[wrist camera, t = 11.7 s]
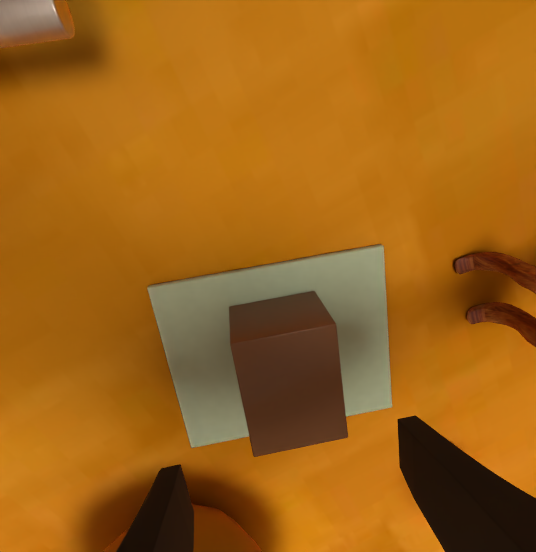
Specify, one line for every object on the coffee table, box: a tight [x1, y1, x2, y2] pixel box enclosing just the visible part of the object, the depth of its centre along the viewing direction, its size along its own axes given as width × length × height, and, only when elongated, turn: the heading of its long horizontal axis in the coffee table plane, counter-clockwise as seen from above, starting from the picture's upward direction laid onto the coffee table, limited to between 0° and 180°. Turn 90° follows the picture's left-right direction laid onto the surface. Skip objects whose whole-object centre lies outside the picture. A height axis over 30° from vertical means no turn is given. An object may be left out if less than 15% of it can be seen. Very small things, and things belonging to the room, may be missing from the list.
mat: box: [147, 244, 392, 448], centre depth 21 cm, size 12×10×1 cm
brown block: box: [229, 291, 348, 457], centre depth 18 cm, size 4×6×4 cm
